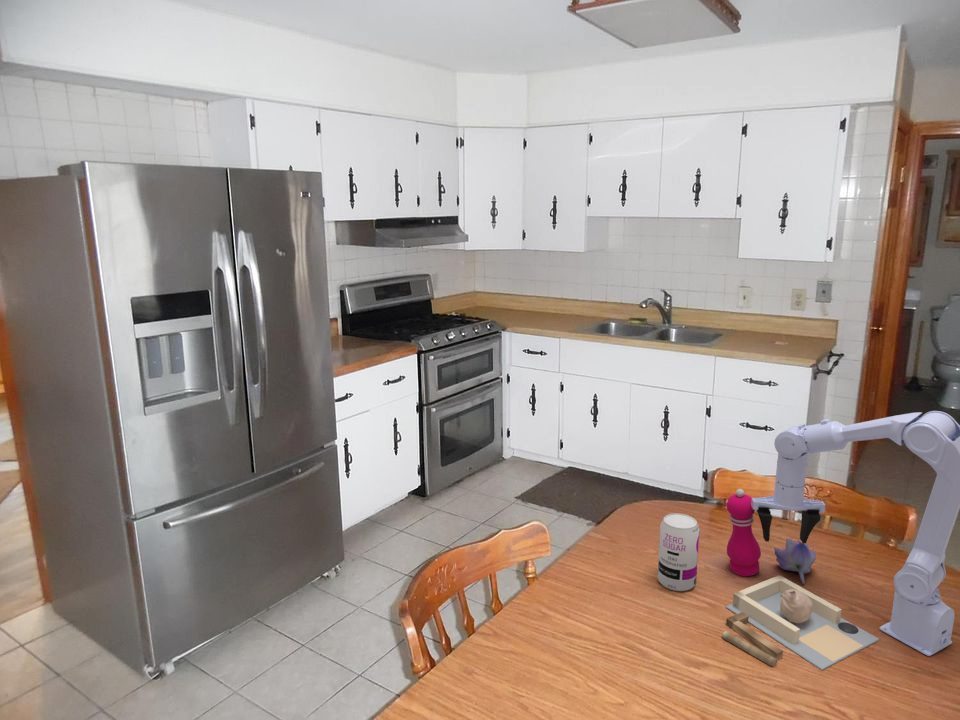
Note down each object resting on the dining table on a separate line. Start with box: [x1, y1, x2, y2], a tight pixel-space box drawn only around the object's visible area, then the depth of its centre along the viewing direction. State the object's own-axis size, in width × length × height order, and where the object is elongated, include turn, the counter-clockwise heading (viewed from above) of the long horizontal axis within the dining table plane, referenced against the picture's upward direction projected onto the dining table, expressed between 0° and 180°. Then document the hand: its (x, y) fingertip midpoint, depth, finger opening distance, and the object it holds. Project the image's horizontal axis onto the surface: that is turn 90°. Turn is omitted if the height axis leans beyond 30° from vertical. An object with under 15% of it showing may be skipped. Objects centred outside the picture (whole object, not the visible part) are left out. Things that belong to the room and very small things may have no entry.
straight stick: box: [721, 630, 778, 668], centre depth 127 cm, size 11×2×2 cm, turn 37°
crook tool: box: [725, 612, 784, 661], centre depth 131 cm, size 12×4×2 cm, turn 27°
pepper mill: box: [726, 488, 762, 577], centre depth 152 cm, size 7×7×20 cm
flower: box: [773, 537, 817, 586], centre depth 151 cm, size 9×8×10 cm
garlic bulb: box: [780, 589, 813, 624], centre depth 135 cm, size 7×6×8 cm
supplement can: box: [657, 512, 701, 592], centre depth 148 cm, size 8×8×15 cm
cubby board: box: [725, 574, 880, 671], centre depth 135 cm, size 22×17×3 cm
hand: (784, 540), depth 147 cm, fingers open, 7 cm apart
